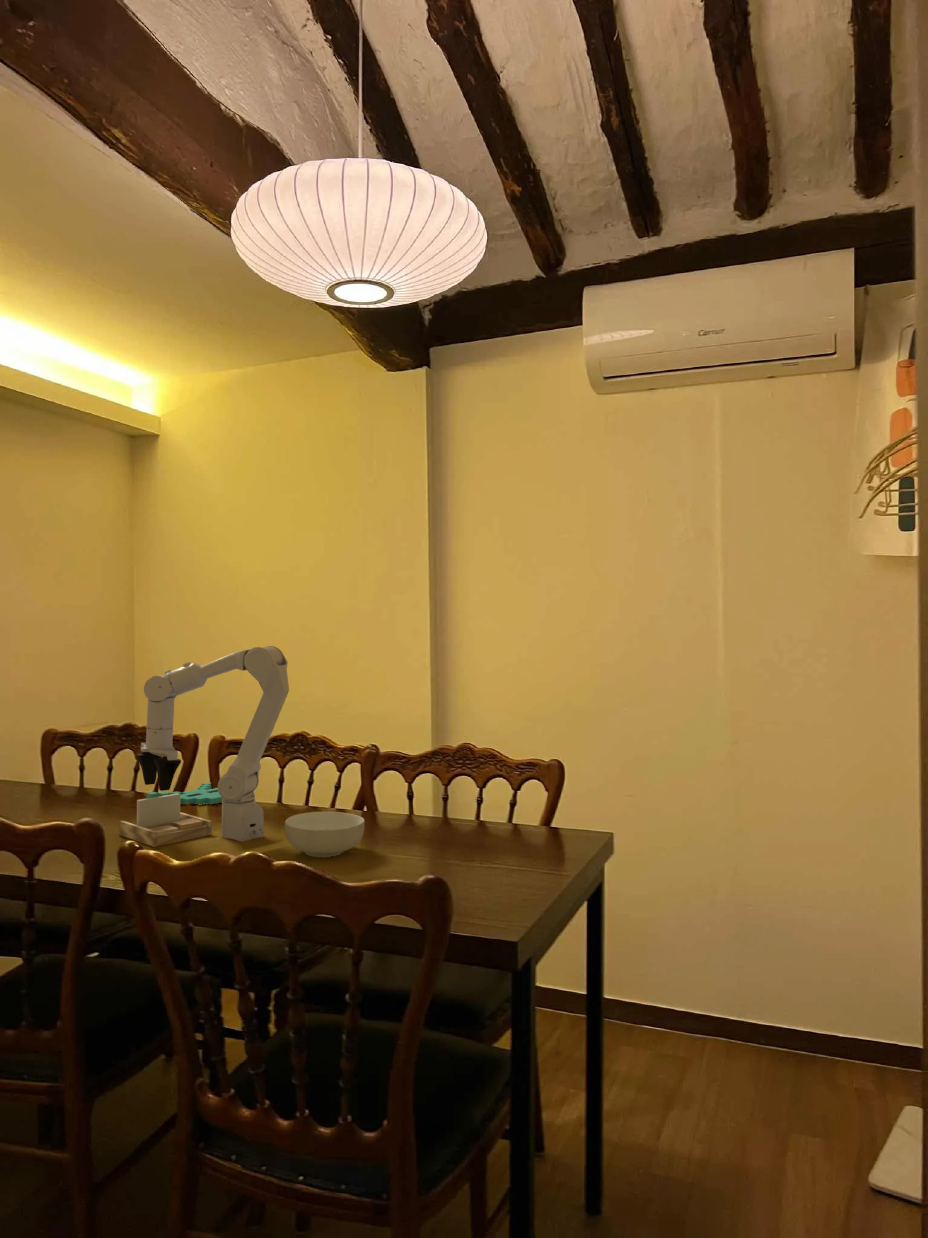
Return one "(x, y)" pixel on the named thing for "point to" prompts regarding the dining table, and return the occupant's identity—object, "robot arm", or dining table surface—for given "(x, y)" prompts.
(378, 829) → the dining table surface
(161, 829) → the ash offcut
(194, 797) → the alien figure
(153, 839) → the rack
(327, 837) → the cereal bowl
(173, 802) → the sheet
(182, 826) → the oak offcut
